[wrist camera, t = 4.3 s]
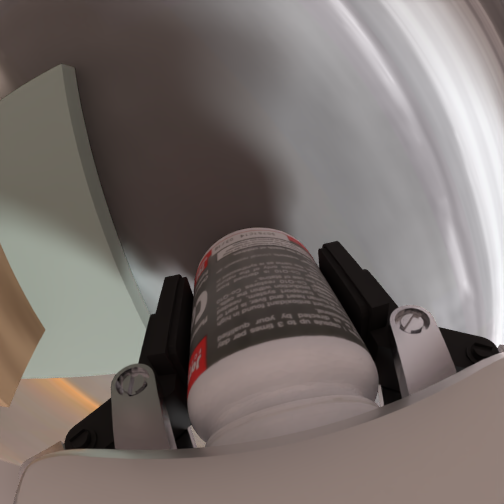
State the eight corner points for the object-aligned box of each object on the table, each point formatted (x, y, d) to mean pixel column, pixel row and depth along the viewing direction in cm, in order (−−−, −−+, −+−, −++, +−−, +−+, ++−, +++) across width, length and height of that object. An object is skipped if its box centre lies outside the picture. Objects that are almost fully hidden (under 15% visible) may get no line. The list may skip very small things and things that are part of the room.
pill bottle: (180, 240, 10) (138, 477, 3) (306, 212, 10) (452, 403, 3) (213, 335, 13) (223, 523, 5) (316, 311, 13) (391, 483, 5)
